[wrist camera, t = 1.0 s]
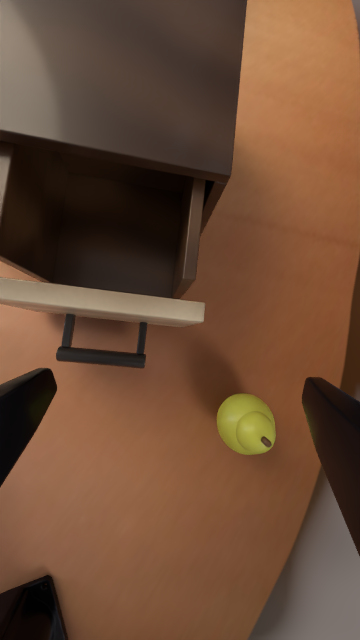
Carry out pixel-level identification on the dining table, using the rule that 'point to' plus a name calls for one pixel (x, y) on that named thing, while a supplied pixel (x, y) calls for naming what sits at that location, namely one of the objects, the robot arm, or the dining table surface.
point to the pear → (246, 424)
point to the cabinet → (126, 82)
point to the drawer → (99, 243)
